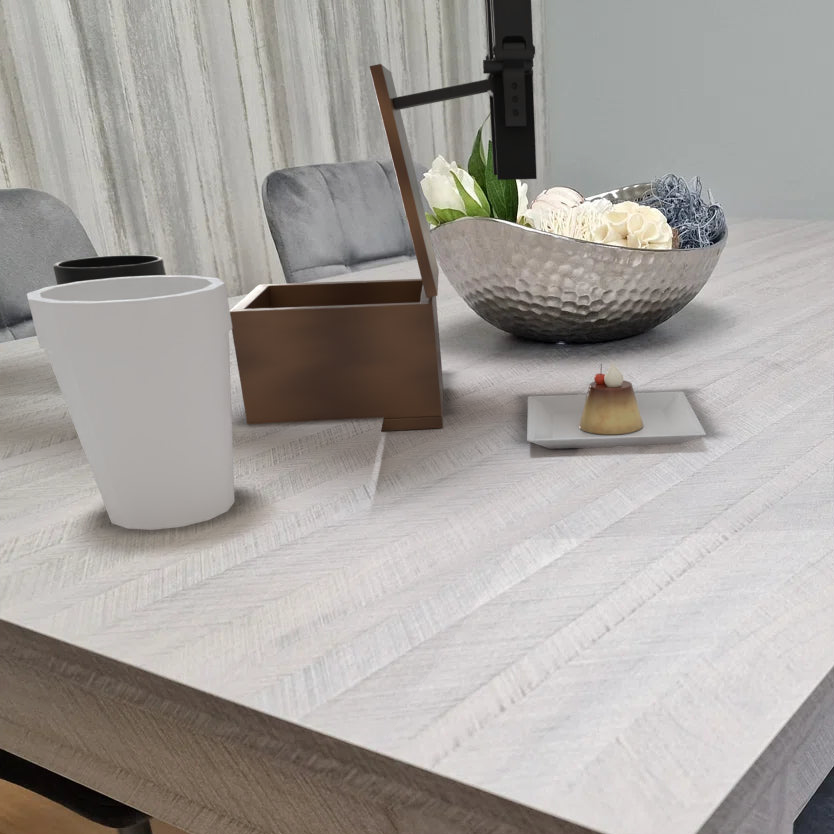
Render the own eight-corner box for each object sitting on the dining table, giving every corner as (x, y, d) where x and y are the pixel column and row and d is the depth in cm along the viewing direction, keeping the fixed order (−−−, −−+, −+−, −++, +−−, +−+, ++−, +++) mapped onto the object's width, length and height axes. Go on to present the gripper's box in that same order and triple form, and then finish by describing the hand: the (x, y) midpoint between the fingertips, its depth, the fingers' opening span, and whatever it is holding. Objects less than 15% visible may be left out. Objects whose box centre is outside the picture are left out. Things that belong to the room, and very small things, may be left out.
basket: (249, 438, 75) (228, 311, 71) (275, 395, 86) (259, 284, 82) (442, 428, 76) (432, 303, 73) (443, 387, 88) (434, 278, 84)
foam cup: (290, 501, 62) (256, 275, 57) (211, 561, 54) (163, 304, 48) (145, 495, 64) (98, 274, 58) (47, 552, 55) (-18, 302, 50)
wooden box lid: (368, 66, 66) (509, 38, 66) (380, 73, 77) (500, 49, 78) (426, 298, 72) (554, 271, 73) (429, 273, 84) (539, 250, 84)
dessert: (528, 410, 80) (525, 347, 78) (682, 405, 81) (683, 343, 79) (527, 456, 70) (524, 385, 68) (705, 450, 70) (707, 379, 68)
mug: (67, 379, 93) (43, 274, 89) (80, 353, 103) (58, 258, 99) (179, 370, 96) (160, 267, 92) (181, 345, 106) (164, 252, 102)
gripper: (570, -265, 58) (580, 182, 68) (542, -178, 75) (553, 169, 85) (434, -269, 57) (464, 185, 67) (437, -180, 74) (460, 171, 84)
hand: (514, 176), depth 76 cm, fingers closed on wooden box lid, 6 cm apart
